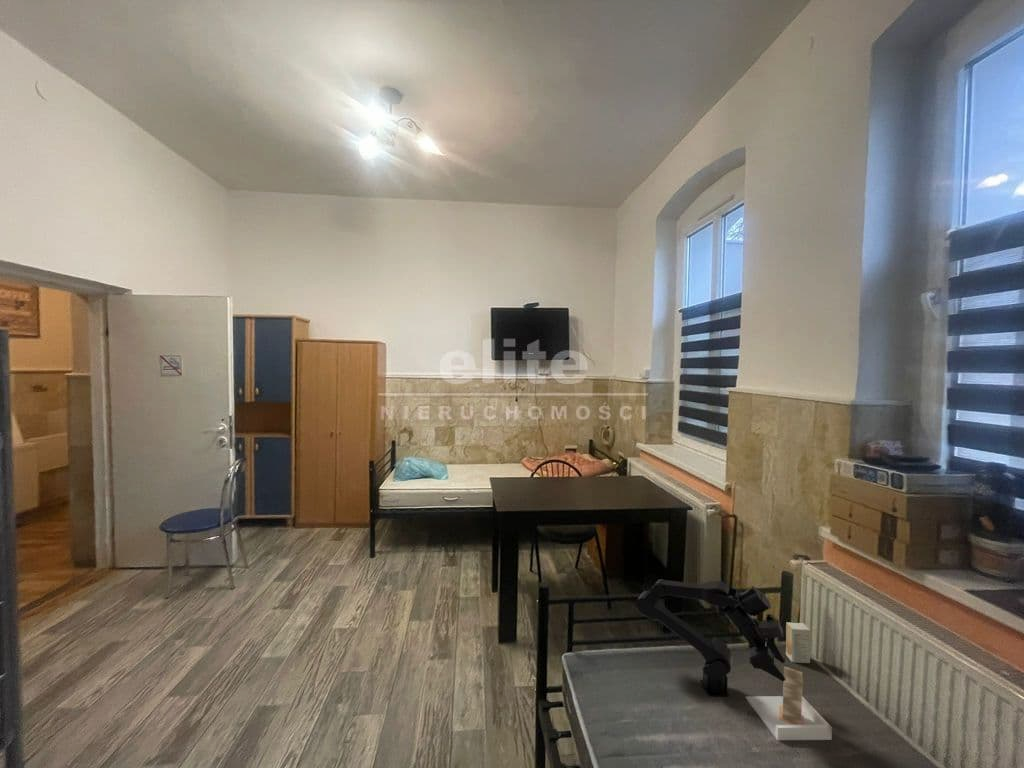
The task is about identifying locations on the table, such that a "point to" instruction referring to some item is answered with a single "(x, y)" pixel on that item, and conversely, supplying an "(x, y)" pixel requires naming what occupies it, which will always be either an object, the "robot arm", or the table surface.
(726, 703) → the table surface
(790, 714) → the birch block
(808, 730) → the tray
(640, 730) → the table surface
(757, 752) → the table surface
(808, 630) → the skincare box
